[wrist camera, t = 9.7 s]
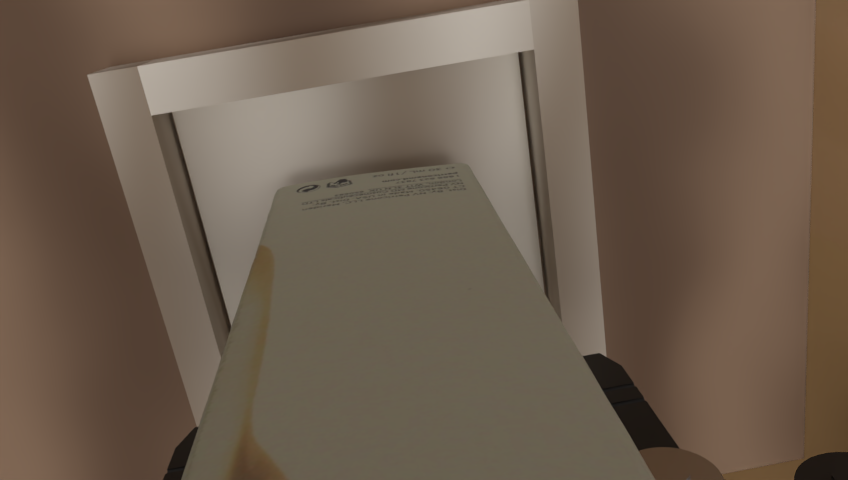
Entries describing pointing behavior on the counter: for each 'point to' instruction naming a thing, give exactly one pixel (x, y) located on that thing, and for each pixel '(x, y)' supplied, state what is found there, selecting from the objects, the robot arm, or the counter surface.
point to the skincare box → (401, 348)
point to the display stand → (394, 150)
